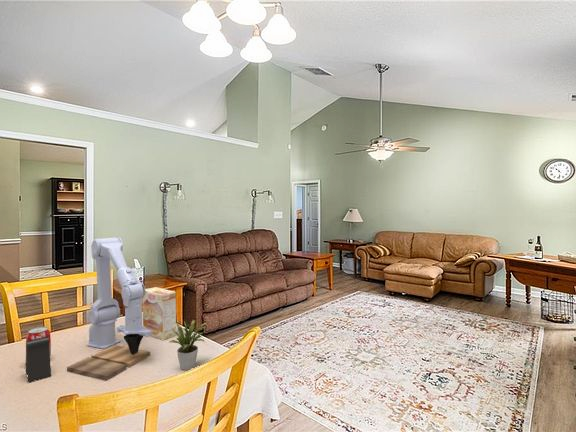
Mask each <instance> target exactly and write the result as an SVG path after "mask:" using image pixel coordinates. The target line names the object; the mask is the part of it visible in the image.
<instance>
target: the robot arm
mask: <svg viewBox="0 0 576 432" xmlns="http://www.w3.org/2000/svg"><path fill="white" fill-rule="evenodd" d="M123 242H124V241H123V239H121V237H120V236H116V237H107V238H105V237H103V238H93V241H92V243H91V249H90V250H91V258H92V259H94V260H95V263H96V264H95V265H96V266H95V267H96V268H95V269H96V284H97V299H96V300H95V301H94V302H93V303H92V304H91V305H90V307H89V308H90V310H89V321H90V323H91V324H90V325H89V328H88V339H89V340H88V342H89V343H87V344H86V345H87V346H89V347H93V348H97V349H102V350H104V349H106V348H109V347H111V346H113V345H117V344H118V343H120V342H121V340H120V339H116V333H123V335H124V336H123V339H124V341H125V342H126V344H127V345H128V348H129V350H130V353H131V354H132V355H134V354H136V353H138V349H139V350H140V345H141V343H142V340H143V338H144V337H145V338H149V337H152V336H151V335H152V330H149V329H147V328H144V327H143V297H144V296H145V289H146V288H145V285H144V283H143V282H141V281H140V280H138V279H137V277H136V275H135V273H134V271H133V269H132V268H131V267H128V265H127V263H126V260H125V257H124V254H123V250H124V249H123V248H124V243H123ZM111 263H112V264H113V266H114V267H115V269H116V271H117V272H116V273H115V277H116V279H117V281H118V283H119V285H120V288H121V293H120V294H121V298H122V304H123V306H124V325H119V326H116V322H117V321H118V319H119V317H120V315H121V309H120V306H119V301H117V299H115V298H113V297H112V296H113V295H112V278H111V276H112V275H111Z"/></svg>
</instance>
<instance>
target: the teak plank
mask: <svg viewBox="0 0 576 432" xmlns="http://www.w3.org/2000/svg"><path fill="white" fill-rule="evenodd" d="M150 356H151V351H149V350H144V349H140V348H139V349H138V353H136V354H134V355H132V354H131V353H130V350H129V347H127V346H123V345H117V344H114V345H112V346H109V347H107V348H105V349H102V350H100V351H97V352H96V353H94V354H92V355H91V356H90V357H91V358H96V359H100V360H105V361H110V362H115V363H119V364H124V365H126V368H131V367H132V366H135V365H137V364H138V363H140V362H141V361H143V360H145V359H147V358H148V357H150Z"/></svg>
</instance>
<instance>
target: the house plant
mask: <svg viewBox="0 0 576 432" xmlns="http://www.w3.org/2000/svg"><path fill="white" fill-rule="evenodd" d="M183 322H184V328H182V326H181V325H180V324H179V323H178V322H177V321H176V322H175V323H176V328H177V330H178V332H179V333H178V332H177V330H176V331H174V330H172V329H171V330H172V331H174V332H175V334H176V336H177V337H176V340H175V339H172V340H170V341H169V343H175V344H179V345H180V347H179V348H177V350H176V353H177V357H178V363H179V368H180V370H183V371H190V370H192V369H191V368H193V369H194V368H195V367H196V364H197V359H198V358H197V357H198V353H199V352H198V351H199V347H198V346H197V345H196V344H195V343H196V342H197V341H199V342H201V341H202V342H205V339H202V338H201V337H202V334H204V333H205V332H204V331H203V332H199V331H200V330H202V329H206V326H205V325H206V324H207V323H209V322H205V323H202V324H200V325H199V326H198V327H197V328H196V329H194V328H195V323H196V320H194V319H192V321H191V322H190V325H189V329H188V325H187V324H186V321H185V320H183ZM189 369H190V370H189Z"/></svg>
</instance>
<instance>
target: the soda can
mask: <svg viewBox="0 0 576 432" xmlns="http://www.w3.org/2000/svg"><path fill="white" fill-rule="evenodd" d="M25 337H26V338H25V342H26V341H31V340H35V339H40V338H44V337H49V351H50V358H51V356H52V355H51V354H52V352H51V351H52V344H51V343H52V341H51V338H52V337H51V331H50V330H49V327H47V326H38V327H35V328H31V329H29V330H28V332H27V335H26V336H25Z"/></svg>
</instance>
